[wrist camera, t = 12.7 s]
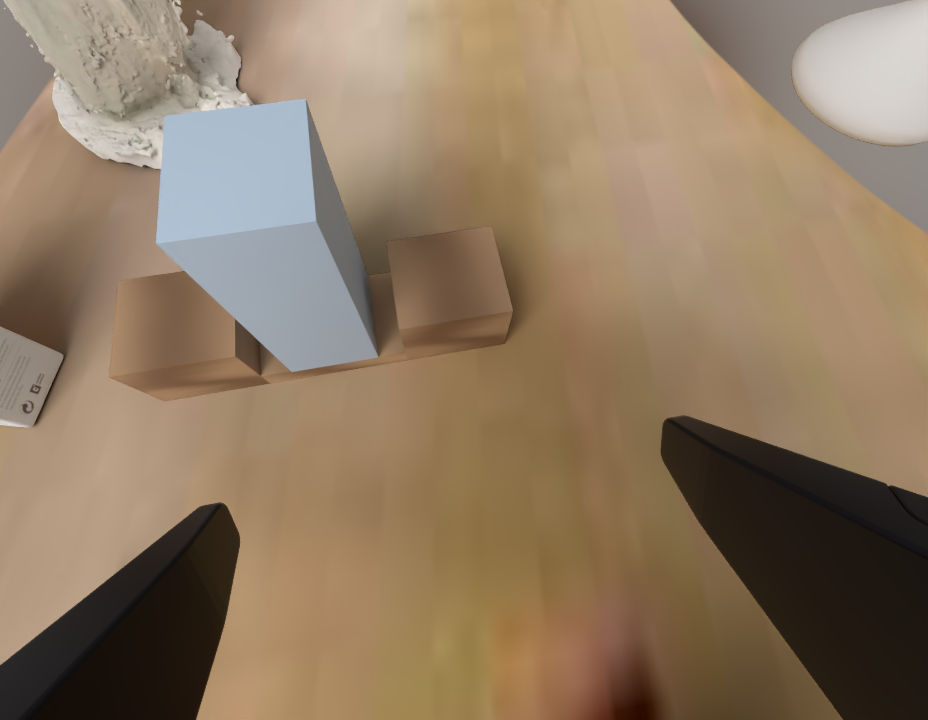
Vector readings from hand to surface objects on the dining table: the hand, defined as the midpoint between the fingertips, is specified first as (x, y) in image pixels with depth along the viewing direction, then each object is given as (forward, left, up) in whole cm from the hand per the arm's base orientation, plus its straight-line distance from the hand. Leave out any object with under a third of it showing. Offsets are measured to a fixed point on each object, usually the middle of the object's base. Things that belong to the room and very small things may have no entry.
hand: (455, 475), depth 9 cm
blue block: (+10, +5, -12) cm, 17 cm away
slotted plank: (+11, +5, -14) cm, 18 cm away
